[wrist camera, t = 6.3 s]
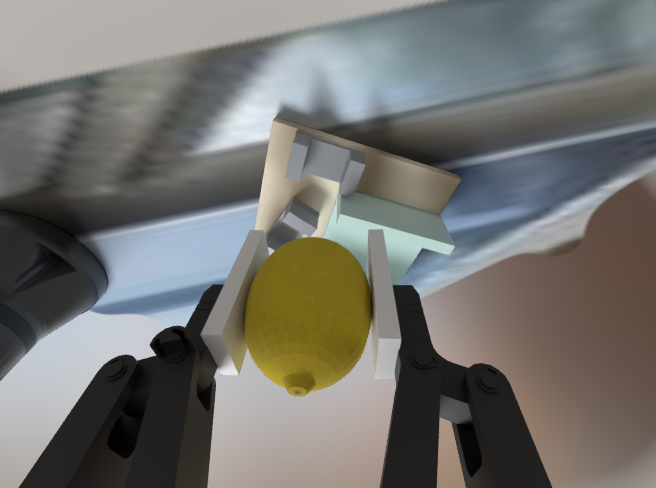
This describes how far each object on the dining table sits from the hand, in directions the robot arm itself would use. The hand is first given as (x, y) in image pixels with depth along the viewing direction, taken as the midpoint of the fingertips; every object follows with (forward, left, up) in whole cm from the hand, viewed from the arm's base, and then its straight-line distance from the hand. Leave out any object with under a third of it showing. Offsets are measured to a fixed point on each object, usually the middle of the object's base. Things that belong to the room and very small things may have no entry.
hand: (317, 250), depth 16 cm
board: (+3, -4, -13) cm, 14 cm away
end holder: (+7, -7, -12) cm, 15 cm away
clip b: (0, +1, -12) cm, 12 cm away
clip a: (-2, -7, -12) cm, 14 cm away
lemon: (0, 0, -1) cm, 1 cm away
